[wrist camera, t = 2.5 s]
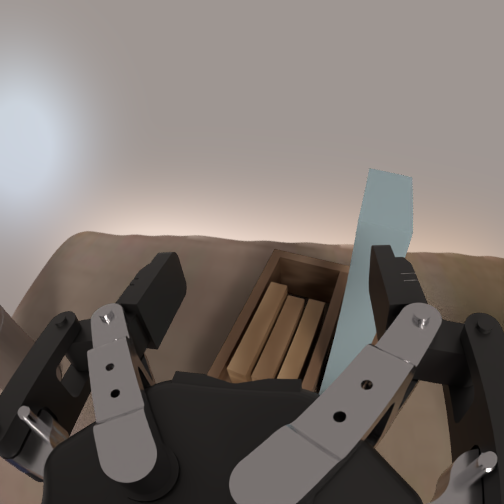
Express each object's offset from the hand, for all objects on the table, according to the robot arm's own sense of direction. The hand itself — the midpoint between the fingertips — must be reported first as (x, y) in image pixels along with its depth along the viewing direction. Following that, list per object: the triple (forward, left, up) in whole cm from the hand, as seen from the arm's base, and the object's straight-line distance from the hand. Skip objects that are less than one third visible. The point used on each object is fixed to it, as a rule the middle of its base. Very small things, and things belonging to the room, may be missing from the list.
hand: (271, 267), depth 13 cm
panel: (+4, +8, -27) cm, 28 cm away
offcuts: (-3, +8, -27) cm, 28 cm away
